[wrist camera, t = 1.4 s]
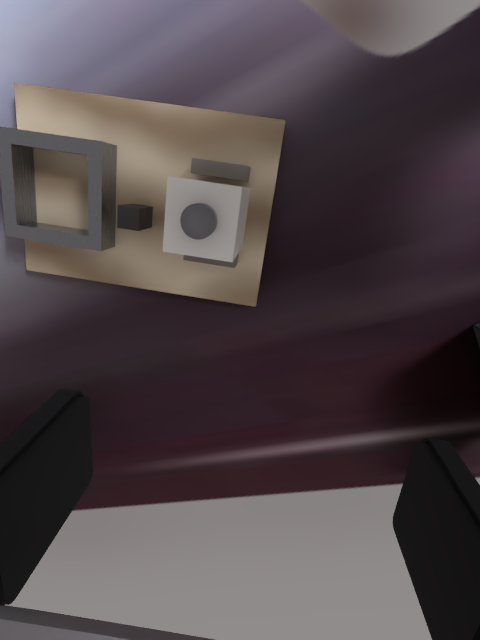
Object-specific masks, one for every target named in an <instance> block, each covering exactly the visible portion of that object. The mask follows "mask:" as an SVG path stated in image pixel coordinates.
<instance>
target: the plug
mask: <svg viewBox="0 0 480 640" xmlns="http://www.w3.org/2000/svg"><path fill="white" fill-rule="evenodd" d="M250 189H251V188H247V187H240V186H234V185H227V184H220V183H213V182H206V181H199V180H193V179H185V178H178V177H171V176H167V190H166V205H165V221H164V236H163V252H169V253H175V254H182V255H188V256H195V257H201V258H207V259H214V260H220V261H227V262H233V261H234V259H235V258H236V256H237V254H238V253H239V251H240V250H241V248H242V246H243V239H244V232H245V225H246V218H247V210H248V203H249V196H250Z"/></svg>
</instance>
